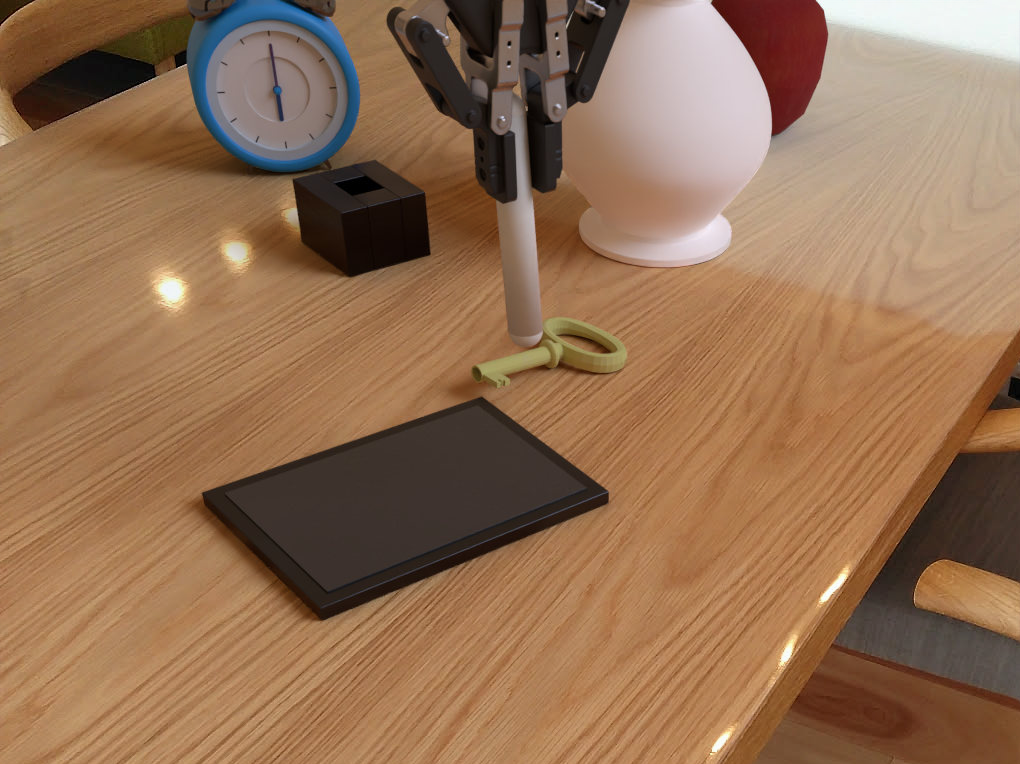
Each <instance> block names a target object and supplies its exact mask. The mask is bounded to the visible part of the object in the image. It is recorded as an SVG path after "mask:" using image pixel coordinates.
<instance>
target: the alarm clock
mask: <svg viewBox="0 0 1020 764" xmlns="http://www.w3.org/2000/svg"><path fill="white" fill-rule="evenodd" d="M185 2H186V7H187V11H188V13H189V14H190V16H191V18H192V19H193V20H194V21H195V22H194V23H193V26H192V28H191V30H190V34H189V38H188V39H187V40H188V41H187V46H186V68H187V74H188V79H189V83H190V88H191V92H192V97H193V102H194V105H195V108H196V111H197V113H198V115H199V118H200V119H201V121H202V123H203V126H204V127H205V128H206V131H208V132H209V134H210V135H211V137H213V139H214V140H215V142H217V143H218V144H219V145H220V146H221V147H222V149H224V150H225V151H227V153H229V154H230V155H232V156H233V157H234V158H236V159H238V160H239V161H241V162H243V163H245V164H246V170H245V174H246V175H247V176H249V175H250V173H251V172H252V170H253V169H254V168H257V169H260V170H264V171H269V172H274V173H294V172H301V171H305V170H309V169H313V168H315V167H317V166H319V165H321V164H325V166H326V167H327V168H328V169H329V170H333V166H332V164H331V163H330V160H329V159H331V158H332V157H333V156H335V155H336V154H337V153H338V152H339V151H340V150H341V149H342V148H343V147H344V145H345V144H346V143H347V141H348V140H349V138H350V137H351V135H352V133H353V132H354V129H355V126H356V124H357V121H358V118H359V113H360V107H361V106H360V105H361V87H360V86H361V85H360V80H359V77H358V73H357V69H356V66H355V64H354V61H353V59H352V57H351V55H350V52H349V49H348V48H347V45H346V43H345V41H344V39H343V36H342V34H341V32H340V31H339V29H338V28H337V26H336V24H335V23H334V22H333V20H332V19H331V18H332V17H334V15H335V13H336V8H337V0H185Z"/></svg>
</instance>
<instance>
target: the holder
mask: <svg viewBox="0 0 1020 764" xmlns="http://www.w3.org/2000/svg"><path fill="white" fill-rule="evenodd" d="M291 181H292V187H293V193H294V198H295V205H296V206H295V207H296V212H297V219H298V226H299V232H300V233H299V234H300V239H301V243H303V244H304V245H305V246H307V247H308V248H309V249H310V250H311V251H313V252H314V253H316V254H317V255H319V256H320V257H321V258H323V259H324V260H325V261H327V262H328V263H330V264H331V265H332V266H333V267H335V268H337V269H338V270H339V271H340V272H342V273H343V274H344V275H346V276H347V277H349V278H351V277H355V276H358V275H361V274H366V273H369V272H373V271H377V270H380V269H383V268H387V267H391V266H395V265H398V264H401V263H402V264H403V263H404V262H409V261H413V260H417V259H420V258H424V257H427V256H430V255H432V254H431V241H430V231H429V229H430V228H429V219H428V207H427V198H426V197H427V196H426V191H424V190H423V189H421V188H420V187H419V186H418V185H415V184H414V183H412V182H411V181H409V180H408V179H407V178H404V177H403V176H402V175H400V174H399V173H397V172H396V171H394V170H392V169H391V168H389V167H387V166H386V165H384V164H383V163H382V162H380V161H378V160H377V159H372V160H368V161H363V162H360V163H355V164H350V165H346V166H342V167H338V168H334V169H333V168H332V169H329V170H325V171H321V172H316V173H311V174H308V175H303V176H299V177H293V178H292V179H291Z"/></svg>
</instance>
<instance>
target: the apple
mask: <svg viewBox="0 0 1020 764" xmlns="http://www.w3.org/2000/svg"><path fill="white" fill-rule="evenodd" d="M710 3H711V5H712V6H713V7H714V8H715V9H716V10H717V12H718V13H719V14H720V15H721V16H722V18H723V19H724V20H725V21H726V22H727V24H728V25H729V26H730V27H731V29H732V30H733V31H734V33H735V34H736V35H737V37H738V38H739V39H740V41H741V42H742V44H743V45H744V47H745V48H746V50H747V52H748V53H749V55H750V57H751V58H752V60H753V62H754V64H755V66H756V67H757V69H758V71H759V73H760V76H761V78H762V80H763V82H764V85H765V87H766V90H767V93H768V97H769V101H770V107H771V115H772V132H771V136H774V135H779V134H781V133H783V132H784V131H785V130H786V129H788V128H789V127H790V126H792V125H793V124H794V123H795V122H797V120H799V119H800V118H802V117H803V116H804V115H805V113H806V111H807V109H808V106H809V104H810V102H811V100H812V98H813V95H814V94H815V91H816V89H817V86H818V84H819V82H820V81H821V77H822V72H823V67H824V61H825V56H826V52H827V46H828V42H829V41H828V40H829V30H828V25H827V19H826V15H825V10H824V8H823V7H822V5H821V4H820V3H819V2H818V1H817V0H711V1H710Z"/></svg>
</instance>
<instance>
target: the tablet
mask: <svg viewBox="0 0 1020 764" xmlns="http://www.w3.org/2000/svg"><path fill="white" fill-rule="evenodd" d="M201 497H202V501H203V505H204V506H205V507H206V508H207V509H208V510H209V511H210V512H211V513H212V514H213V515H214V516H215V517H216V518H217V519H218V520H219V521H220V522H222V524H223V525H225V526H226V527H227V529H229V530H230V532H232V534H233V535H235V536H236V537H237V539H239V540H240V541H241V542H242V544H244V545H245V547H247V548H248V549H249V551H251V552H252V553H253V554H254V555H255V556H256V557H257V558H258V559H259V561H261V562H262V563H263V564H264V565H265V566H266V567H267V568H268V569H269V570H270V571H271V572H272V573H273V574H274V575H276V577H278V579H279V580H281V581H282V582H283V583H284V584H285V586H287V587H288V588H289V589H290V591H292V593H294V594H295V595H296V596H297V597H298V598H299V599H300V600H301V601H302V602H303V603H304V604H305V605H306V606H307V607H308V608H309V609H310V610H311V611H312V612H313V613H314V614H315V615H316V616H317V617H318V618H319V619H320V620H321V621H325V620H327V619H330V618H332V617H335V616H337V615H340V614H342V613H345V612H347V611H350V610H352V609H354V608H357V607H359V606H361V605H364V604H366V603H368V602H371V601H373V600H374V601H375V600H376V599H379V598H381V597H383V596H385V595H388V594H391V593H393V592H395V591H398V590H400V589H403V588H405V587H408V586H410V585H413V584H415V583H418V582H420V581H422V580H425V579H427V578H429V577H432V576H434V575H437V574H440V573H442V572H445V571H447V570H449V569H451V568H454V567H456V566H459V565H461V564H464V563H466V562H468V561H472V560H474V559H476V558H478V557H481V556H483V555H485V554H488V553H490V552H493V551H495V550H497V549H500V548H503V547H505V546H507V545H510V544H513V543H515V542H517V541H519V540H523V539H525V538H528V537H529V536H532V535H534V534H537V533H539V532H542V531H544V530H547V529H549V528H551V527H553V526H556V525H558V524H562V523H563V522H565V521H569V520H570V519H573V518H576V517H579V516H580V515H583V514H585V513H588V512H590V511H593V510H595V509H597V508H599V507H602V506H605V505H607V504H609V503H610V491H609V490H608V489H606V488H605V487H604V486H602V485H601V484H600V483H598V482H597V481H596V480H595V479H594V478H592V477H591V476H589V475H588V474H586V473H585V472H584V471H582V470H581V469H580V468H579V467H577V465H574V463H572V462H570V461H569V460H568V459H567V458H565V457H564V456H562V455H561V454H559V452H557V451H556V450H555V449H553V448H552V447H551V446H549V445H548V444H546V442H544V441H542V440H541V439H540V438H539V437H537V436H536V435H535V434H533V433H532V432H530V431H529V430H528V429H527V428H525V427H524V426H523V425H521V424H520V423H518V422H517V421H515V420H514V419H513V418H512V417H510V416H509V415H508V414H506V413H505V412H504V411H503V410H501V409H499V408H498V406H496V405H494V404H493V403H492V402H490V401H489V400H487V398H485V397H484V396H479V397H476V398H473V399H470V400H468V401H464V402H461V403H459V404H455V405H452V406H450V407H447V408H444V409H441V410H438V411H435V412H433V413H432V412H431V413H429V414H427V415H424V416H420V417H418V418H415V419H412V420H409V421H405V422H403V423H400V424H397V425H394V426H391V427H388V428H385V429H383V430H380V431H377V432H374V433H371V434H368V435H364V436H362V437H360V438H357V439H353V440H351V441H347V442H345V443H342V444H339V445H336V446H333V447H330V448H327V449H324V450H322V451H319V452H315V453H313V454H309V455H307V456H304V457H301V458H297V459H295V460H292V461H290V462H287V463H284V464H280V465H277V466H274V467H272V468H269V469H266V470H262V471H260V472H257V473H254V474H252V475H248V476H246V477H243V478H240V479H237V480H234V481H232V482H227V483H225V484H223V485H219V486H216V487H213V488H210V489H207V490H205V491H201Z"/></svg>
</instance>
